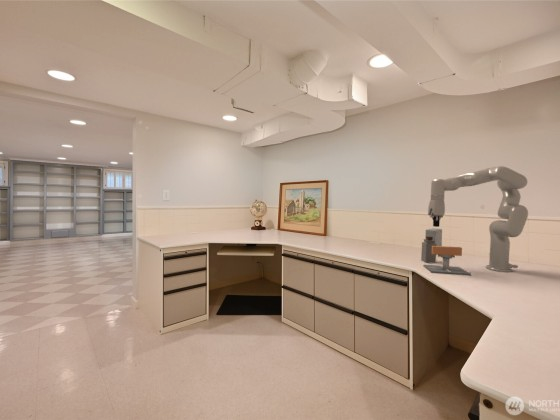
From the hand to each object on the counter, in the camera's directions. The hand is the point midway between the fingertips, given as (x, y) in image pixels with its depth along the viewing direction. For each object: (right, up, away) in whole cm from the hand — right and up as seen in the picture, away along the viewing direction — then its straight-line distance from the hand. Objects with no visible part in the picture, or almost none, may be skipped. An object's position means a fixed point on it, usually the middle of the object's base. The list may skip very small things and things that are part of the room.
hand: (436, 226), depth 167 cm
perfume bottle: (+5, -27, +17) cm, 32 cm away
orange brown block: (+3, -19, -6) cm, 20 cm away
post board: (+3, -27, -6) cm, 28 cm away
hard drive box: (+26, -25, +47) cm, 59 cm away
